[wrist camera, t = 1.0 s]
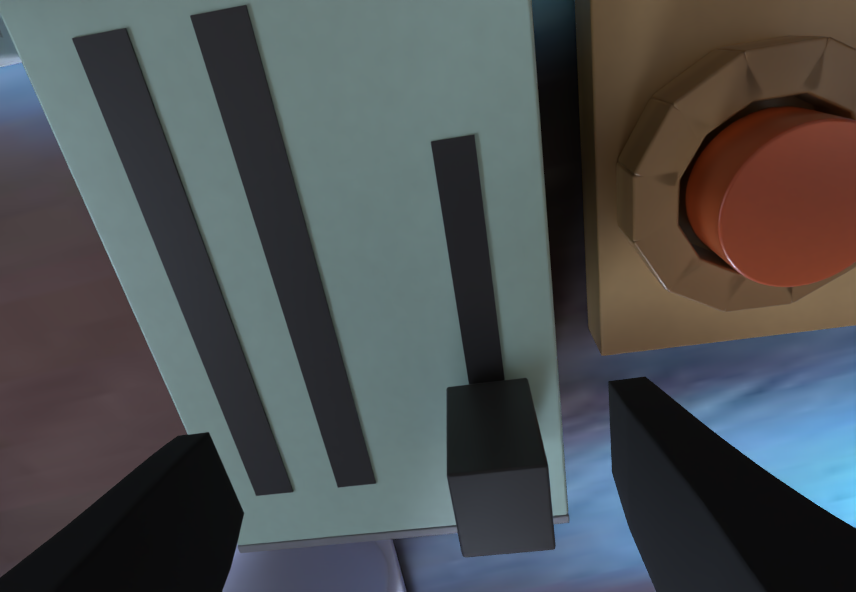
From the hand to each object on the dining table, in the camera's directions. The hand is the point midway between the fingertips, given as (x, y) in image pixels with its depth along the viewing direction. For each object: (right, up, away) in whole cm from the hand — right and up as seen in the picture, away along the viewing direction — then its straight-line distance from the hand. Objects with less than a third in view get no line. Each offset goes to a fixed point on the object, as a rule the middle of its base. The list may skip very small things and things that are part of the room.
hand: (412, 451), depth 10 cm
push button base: (+9, +7, +7) cm, 14 cm away
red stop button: (+9, +6, +4) cm, 12 cm away
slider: (+2, 0, +4) cm, 5 cm away
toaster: (-2, +6, +8) cm, 10 cm away
